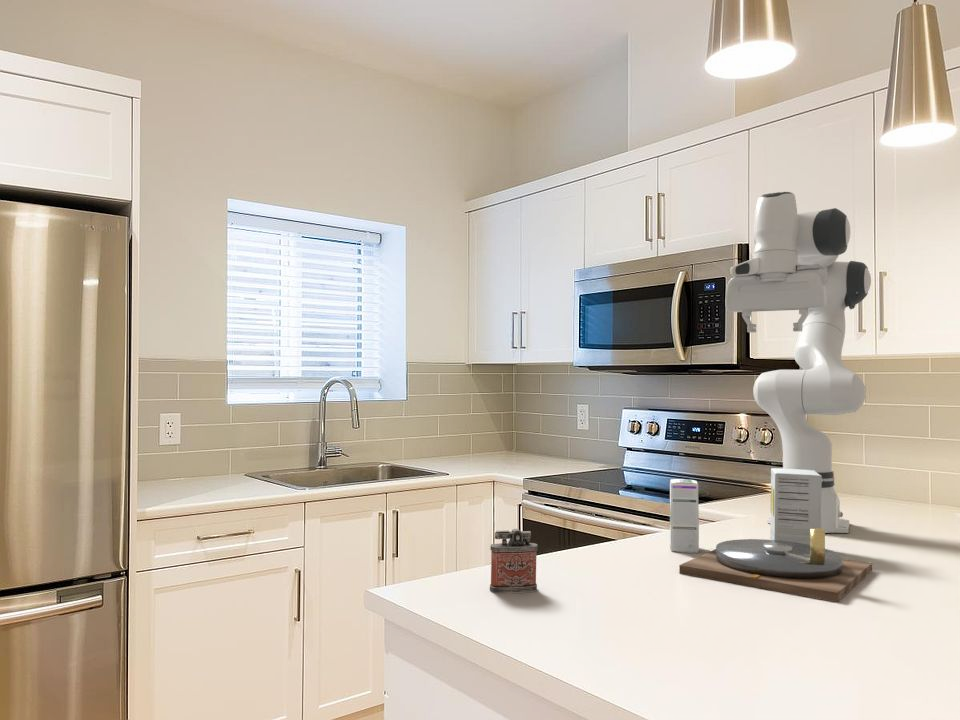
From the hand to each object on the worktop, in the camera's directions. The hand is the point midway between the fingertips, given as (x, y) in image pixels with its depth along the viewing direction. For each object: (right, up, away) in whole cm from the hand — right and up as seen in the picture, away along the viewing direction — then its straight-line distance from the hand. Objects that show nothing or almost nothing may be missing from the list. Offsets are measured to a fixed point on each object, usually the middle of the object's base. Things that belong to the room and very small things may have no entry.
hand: (774, 331), depth 160 cm
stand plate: (-7, -46, -19) cm, 50 cm away
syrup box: (-20, -46, -1) cm, 50 cm away
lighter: (-57, -45, -34) cm, 80 cm away
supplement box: (+4, -47, 0) cm, 47 cm away
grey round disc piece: (-7, -44, -19) cm, 48 cm away
